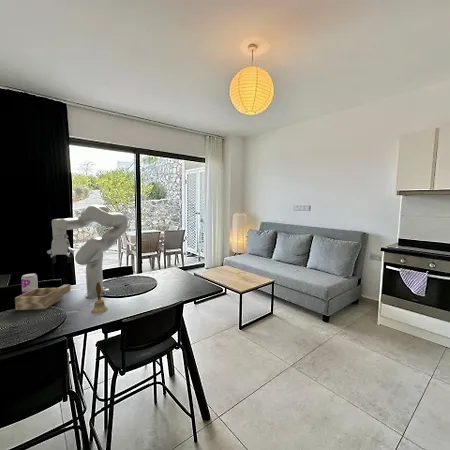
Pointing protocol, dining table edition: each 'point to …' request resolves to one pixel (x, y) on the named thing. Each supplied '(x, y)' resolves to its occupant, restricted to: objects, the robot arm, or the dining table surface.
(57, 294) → the box
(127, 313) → the dining table surface
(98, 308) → the hand bell
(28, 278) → the supplement can
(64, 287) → the lid
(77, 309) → the dining table surface
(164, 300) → the dining table surface
